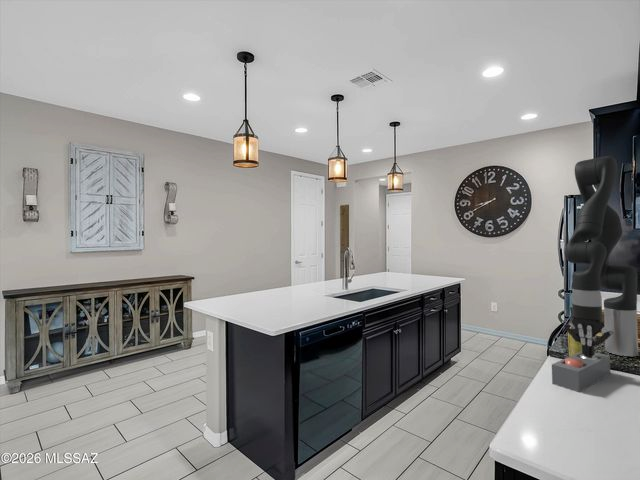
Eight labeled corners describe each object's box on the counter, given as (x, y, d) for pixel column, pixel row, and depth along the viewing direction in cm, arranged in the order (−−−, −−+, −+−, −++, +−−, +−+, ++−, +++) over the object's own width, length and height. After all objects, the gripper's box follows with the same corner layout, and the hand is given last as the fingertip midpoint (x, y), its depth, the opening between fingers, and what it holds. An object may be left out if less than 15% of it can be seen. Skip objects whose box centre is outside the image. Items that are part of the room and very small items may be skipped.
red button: (569, 372, 106) (569, 357, 106) (586, 377, 102) (585, 361, 102) (562, 376, 104) (562, 360, 104) (579, 381, 100) (578, 364, 100)
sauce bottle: (595, 366, 115) (593, 308, 115) (575, 365, 116) (573, 308, 116) (584, 359, 122) (582, 304, 122) (565, 358, 123) (563, 304, 123)
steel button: (584, 368, 111) (583, 353, 111) (600, 372, 108) (599, 356, 108) (577, 371, 109) (577, 355, 109) (594, 375, 105) (593, 359, 105)
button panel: (584, 367, 114) (584, 349, 114) (610, 374, 108) (609, 355, 108) (552, 383, 103) (551, 364, 103) (578, 392, 97) (578, 371, 97)
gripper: (617, 304, 104) (619, 360, 104) (568, 299, 116) (570, 348, 116) (607, 308, 101) (609, 365, 101) (558, 301, 112) (559, 353, 112)
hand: (588, 356), depth 108 cm, fingers closed
